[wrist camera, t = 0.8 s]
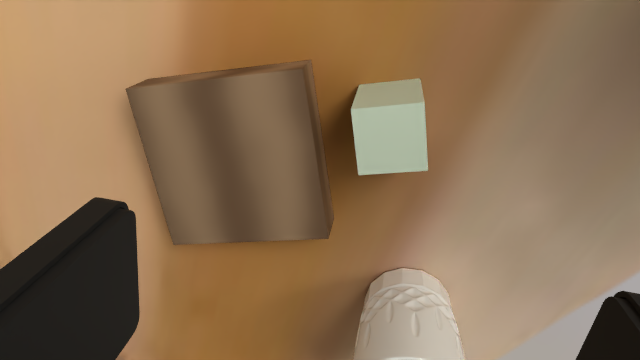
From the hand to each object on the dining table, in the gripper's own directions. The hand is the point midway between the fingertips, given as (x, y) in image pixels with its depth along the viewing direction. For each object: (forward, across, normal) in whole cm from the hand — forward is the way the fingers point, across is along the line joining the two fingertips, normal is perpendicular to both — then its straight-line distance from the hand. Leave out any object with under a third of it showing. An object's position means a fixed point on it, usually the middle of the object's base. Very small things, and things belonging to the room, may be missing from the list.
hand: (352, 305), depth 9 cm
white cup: (+24, -6, +18) cm, 30 cm away
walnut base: (+24, +8, +7) cm, 26 cm away
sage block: (+24, -2, +2) cm, 24 cm away
